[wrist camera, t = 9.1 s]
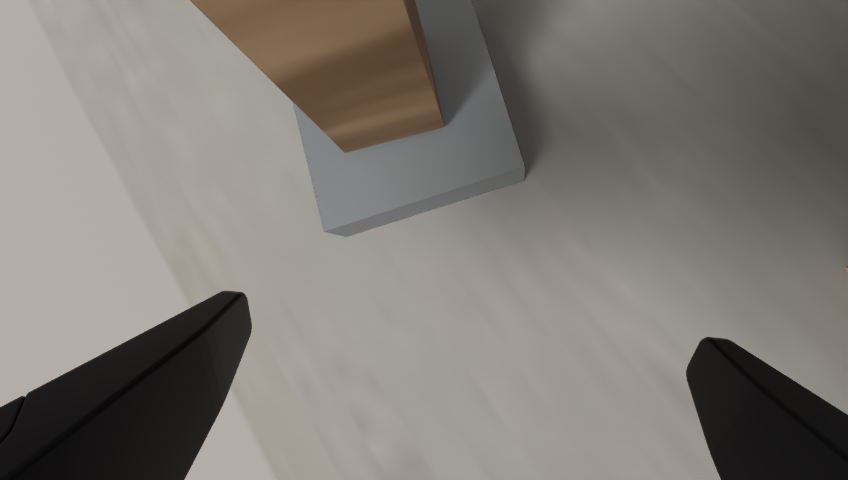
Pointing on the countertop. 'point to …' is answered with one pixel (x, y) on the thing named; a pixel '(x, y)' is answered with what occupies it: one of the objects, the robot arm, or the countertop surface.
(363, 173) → the grey base block
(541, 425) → the countertop surface
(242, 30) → the walnut block
